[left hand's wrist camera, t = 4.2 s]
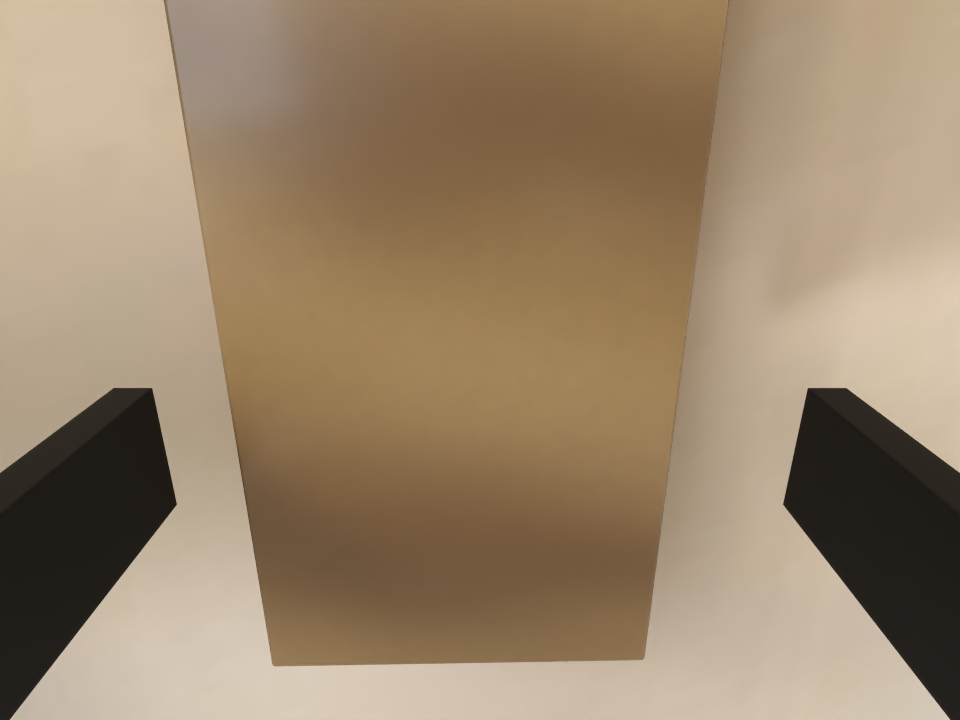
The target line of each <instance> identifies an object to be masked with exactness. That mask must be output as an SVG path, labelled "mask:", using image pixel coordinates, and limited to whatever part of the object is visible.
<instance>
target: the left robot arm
mask: <svg viewBox="0 0 960 720" xmlns="http://www.w3.org/2000/svg"><path fill="white" fill-rule="evenodd" d="M176 505H177V503H176V498H175V494H174V489H173V484H172V480H171V475H170V470H169V466H168V461H167V456H166V451H165V447H164V442H163V437H162V433H161V428H160V423H159V419H158V414H157V409H156V404H155V400H154V395H153V390H152V388H113V389H112V390H111V391H109V392H108V393H107V394H105V395H104V396H103V397H101V398H100V399H99V400H97V401H96V402H95V403H93V404H92V405H91V406H89V407H88V408H87V409H85V410H84V411H83V412H81V413H80V414H79V415H77V416H76V417H75V418H73V419H72V420H71V421H69V422H68V423H67V424H65V425H64V426H63V427H61V428H60V429H59V430H57V431H56V432H55V433H53V434H52V435H51V436H49V437H48V438H47V439H45V440H44V441H43V442H41V443H40V444H38V445H37V446H36V447H34V448H33V449H32V450H30V451H29V452H28V453H26V454H25V455H24V456H22V457H21V458H20V459H18V460H17V461H16V462H14V463H13V464H12V465H10V466H9V467H8V468H6V469H5V470H4V471H2V472H1V473H0V720H10V719H11V717H12V716H13V715H14V713H15V712H16V711H17V710H18V708H19V707H20V706H21V704H22V703H23V702H24V701H25V699H26V698H27V697H28V695H29V694H30V693H31V692H32V690H33V689H34V688H35V686H36V685H37V684H38V683H39V681H40V680H41V679H42V677H43V676H44V675H45V673H46V672H47V671H48V670H49V668H50V667H51V666H52V664H53V663H54V662H55V661H56V659H57V658H58V657H59V655H60V654H61V653H62V652H63V650H64V649H65V648H66V646H67V645H68V644H69V643H70V641H71V640H72V639H73V637H74V636H75V635H76V634H77V632H78V631H79V630H80V628H81V627H82V626H83V625H84V623H85V622H86V621H87V619H88V618H89V617H90V616H91V614H92V613H93V612H94V610H95V609H96V608H97V607H98V605H99V604H100V603H101V601H102V600H103V599H104V598H105V596H106V595H107V594H108V592H109V591H110V590H111V589H112V587H113V586H114V585H115V583H116V582H117V581H118V580H119V578H120V577H121V576H122V574H123V573H124V572H125V571H126V569H127V568H128V567H129V565H130V564H131V563H132V562H133V560H134V559H135V558H136V556H137V555H138V554H139V553H140V551H141V550H142V549H143V547H144V546H145V545H146V544H147V542H148V541H149V540H150V538H151V537H152V536H153V535H154V533H155V532H156V531H157V529H158V528H159V527H160V526H161V524H162V523H163V522H164V520H165V519H166V518H167V516H168V515H169V514H170V513H171V511H172V510H173V509H174V507H175V506H176ZM783 505H784V506H785V507H786V509H787V510H788V511H789V513H790V514H791V515H792V516H793V518H794V519H795V520H796V522H797V523H798V524H799V526H800V527H801V528H802V529H803V531H804V532H805V533H806V535H807V536H808V537H809V538H810V540H811V541H812V542H813V544H814V545H815V546H816V547H817V549H818V550H819V551H820V553H821V554H822V555H823V556H824V558H825V559H826V560H827V562H828V563H829V564H830V565H831V567H832V568H833V569H834V571H835V572H836V573H837V574H838V576H839V577H840V578H841V580H842V581H843V582H844V583H845V585H846V586H847V587H848V589H849V590H850V591H851V592H852V594H853V595H854V596H855V598H856V599H857V600H858V601H859V603H860V604H861V605H862V607H863V608H864V609H865V610H866V612H867V613H868V614H869V616H870V617H871V618H872V619H873V621H874V622H875V623H876V625H877V626H878V627H879V628H880V630H881V631H882V632H883V634H884V635H885V636H886V637H887V639H888V640H889V641H890V643H891V644H892V645H893V646H894V648H895V649H896V650H897V652H898V653H899V654H900V655H901V657H902V658H903V659H904V661H905V662H906V663H907V664H908V666H909V667H910V668H911V670H912V671H913V672H914V673H915V675H916V676H917V677H918V679H919V680H920V681H921V683H922V684H923V685H924V686H925V688H926V689H927V690H928V692H929V693H930V694H931V695H932V697H933V698H934V699H935V701H936V702H937V703H938V704H939V706H940V707H941V708H942V710H943V711H944V712H945V713H946V715H947V716H948V717H949V719H950V720H960V473H959V472H958V471H956V470H955V469H954V468H952V467H951V466H950V465H948V464H947V463H946V462H944V461H943V460H942V459H940V458H939V457H938V456H936V455H935V454H934V453H932V452H931V451H930V450H928V449H927V448H926V447H924V446H923V445H922V444H920V443H919V442H917V441H916V440H915V439H913V438H912V437H911V436H909V435H908V434H907V433H905V432H904V431H903V430H901V429H900V428H899V427H897V426H896V425H895V424H893V423H892V422H891V421H889V420H888V419H887V418H885V417H884V416H883V415H881V414H880V413H879V412H877V411H876V410H875V409H873V408H872V407H871V406H869V405H868V404H867V403H865V402H864V401H863V400H861V399H860V398H859V397H857V396H856V395H855V394H853V393H852V392H851V391H849V390H848V389H847V388H808V390H807V395H806V400H805V404H804V409H803V414H802V419H801V423H800V428H799V433H798V437H797V442H796V447H795V451H794V456H793V461H792V466H791V470H790V475H789V480H788V484H787V489H786V494H785V498H784V503H783Z"/></svg>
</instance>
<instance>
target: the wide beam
mask: <svg viewBox="0 0 960 720" xmlns="http://www.w3.org/2000/svg"><path fill="white" fill-rule="evenodd" d="M164 4H165V10H166V16H167V22H168V28H169V34H170V41H171V47H172V53H173V59H174V65H175V71H176V77H177V83H178V89H179V96H180V102H181V108H182V114H183V120H184V126H185V132H186V138H187V145H188V151H189V157H190V163H191V169H192V175H193V181H194V187H195V193H196V200H197V206H198V212H199V218H200V224H201V230H202V236H203V242H204V248H205V255H206V261H207V267H208V273H209V279H210V285H211V291H212V297H213V304H214V310H215V316H216V322H217V328H218V334H219V340H220V346H221V352H222V359H223V365H224V371H225V377H226V383H227V389H228V395H229V401H230V407H231V414H232V420H233V426H234V432H235V438H236V444H237V450H238V456H239V463H240V469H241V475H242V481H243V487H244V493H245V499H246V505H247V511H248V518H249V524H250V530H251V536H252V542H253V548H254V554H255V560H256V566H257V573H258V579H259V585H260V591H261V597H262V603H263V609H264V615H265V622H266V628H267V634H268V640H269V646H270V652H271V658H272V664H273V666H318V665H377V664H435V663H494V662H552V661H610V660H643V659H644V656H645V649H646V641H647V633H648V625H649V618H650V610H651V602H652V594H653V587H654V579H655V571H656V563H657V555H658V548H659V540H660V532H661V524H662V517H663V509H664V501H665V493H666V486H667V478H668V470H669V462H670V455H671V447H672V439H673V431H674V424H675V416H676V408H677V400H678V393H679V385H680V377H681V369H682V361H683V354H684V346H685V338H686V330H687V323H688V315H689V307H690V299H691V292H692V284H693V276H694V268H695V261H696V253H697V245H698V237H699V230H700V222H701V214H702V206H703V199H704V191H705V183H706V175H707V168H708V160H709V152H710V144H711V136H712V129H713V121H714V113H715V105H716V98H717V90H718V82H719V74H720V67H721V59H722V51H723V43H724V36H725V28H726V20H727V12H728V5H729V0H164Z"/></svg>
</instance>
